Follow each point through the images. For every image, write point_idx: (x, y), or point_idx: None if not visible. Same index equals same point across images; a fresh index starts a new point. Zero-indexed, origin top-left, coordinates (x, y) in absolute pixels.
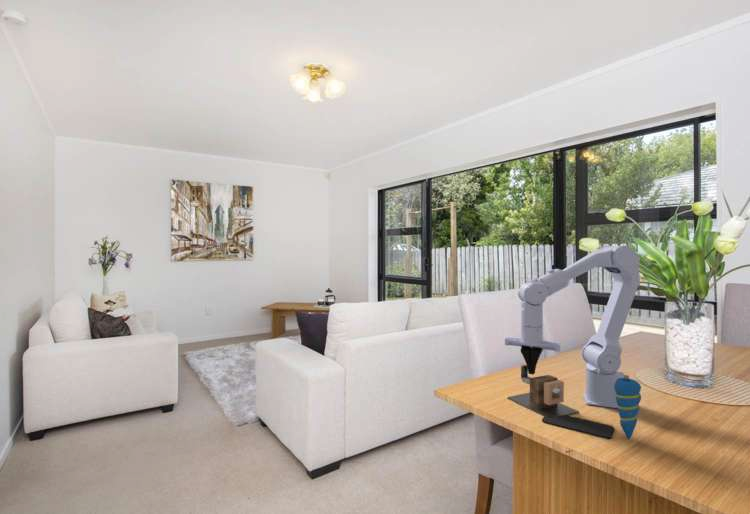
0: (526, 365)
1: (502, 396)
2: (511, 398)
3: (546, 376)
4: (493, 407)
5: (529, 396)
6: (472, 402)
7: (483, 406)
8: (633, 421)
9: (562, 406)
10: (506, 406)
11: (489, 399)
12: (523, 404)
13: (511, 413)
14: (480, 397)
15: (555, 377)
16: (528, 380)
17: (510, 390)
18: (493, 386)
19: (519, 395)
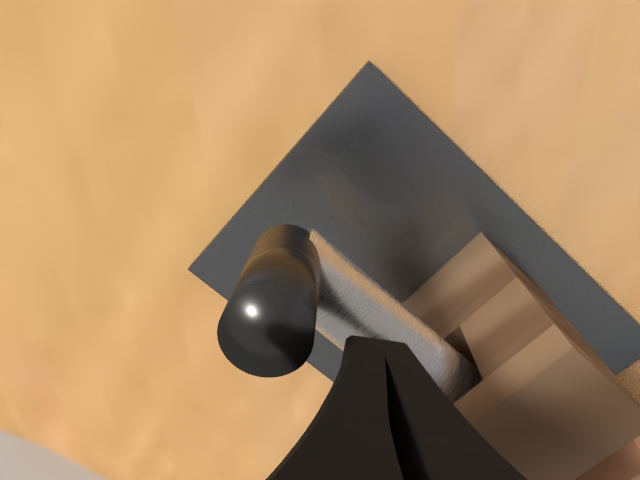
0: (294, 319)
1: (150, 236)
2: (220, 286)
3: (534, 420)
4: (148, 427)
5: (340, 195)
6: (15, 401)
7: (93, 432)
8: None
9: (564, 302)
10: (213, 390)
11: (87, 322)
12: (309, 357)
13: (256, 466)
14: (23, 310)
15: (636, 416)
16: (334, 343)
17: (175, 70)
18: (15, 21)
19: (265, 201)
